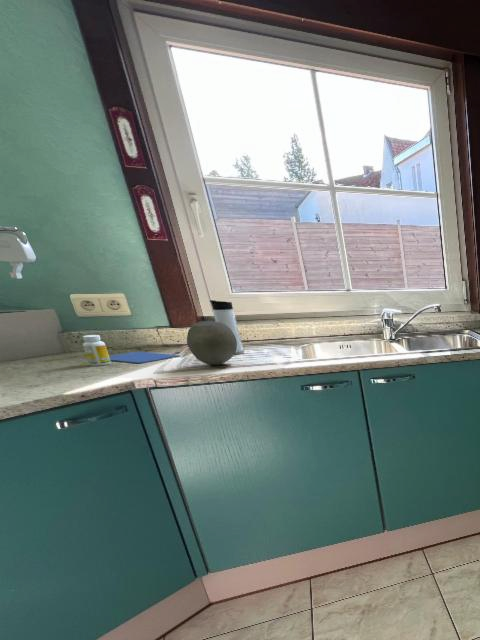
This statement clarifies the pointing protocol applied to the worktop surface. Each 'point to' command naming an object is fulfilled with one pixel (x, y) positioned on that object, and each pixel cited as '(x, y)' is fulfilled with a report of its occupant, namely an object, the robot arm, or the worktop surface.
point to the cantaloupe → (211, 342)
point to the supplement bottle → (96, 351)
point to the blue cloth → (140, 357)
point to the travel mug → (227, 320)
